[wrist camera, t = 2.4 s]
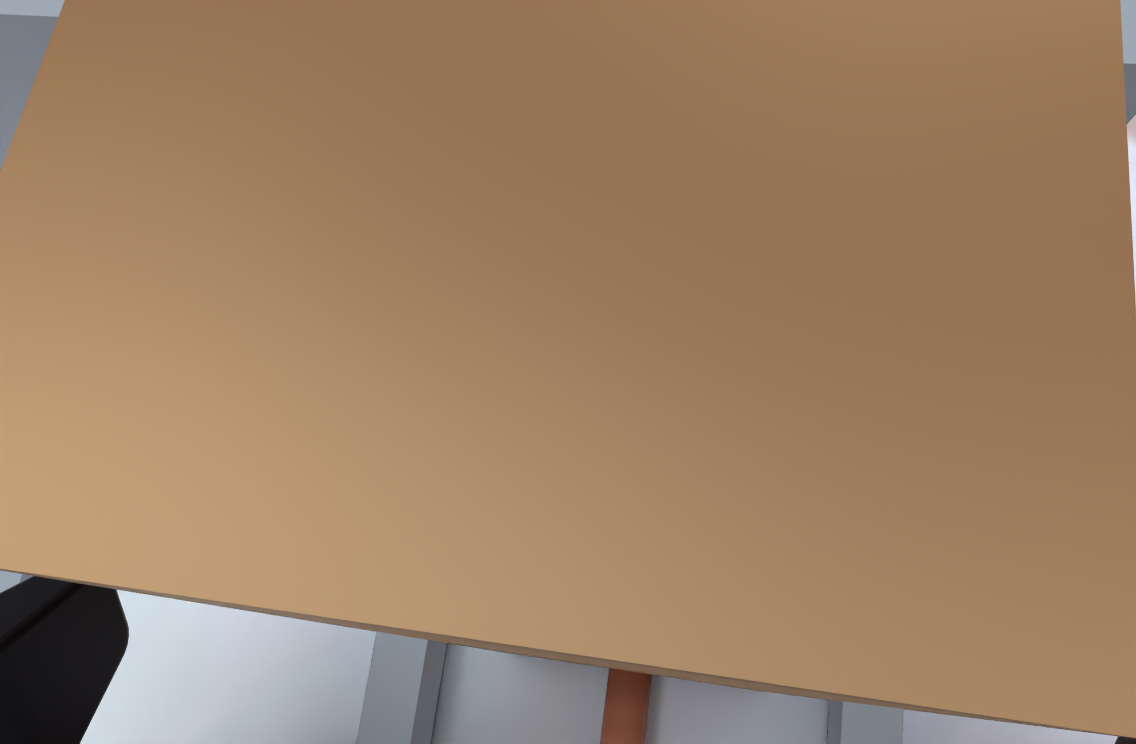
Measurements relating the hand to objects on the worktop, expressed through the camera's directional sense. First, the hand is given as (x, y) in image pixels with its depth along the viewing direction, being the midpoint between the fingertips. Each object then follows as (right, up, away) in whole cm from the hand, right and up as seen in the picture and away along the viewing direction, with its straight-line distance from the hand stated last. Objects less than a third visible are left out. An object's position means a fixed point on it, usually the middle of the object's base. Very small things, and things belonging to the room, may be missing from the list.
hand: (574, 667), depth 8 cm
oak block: (+1, -3, +10) cm, 10 cm away
